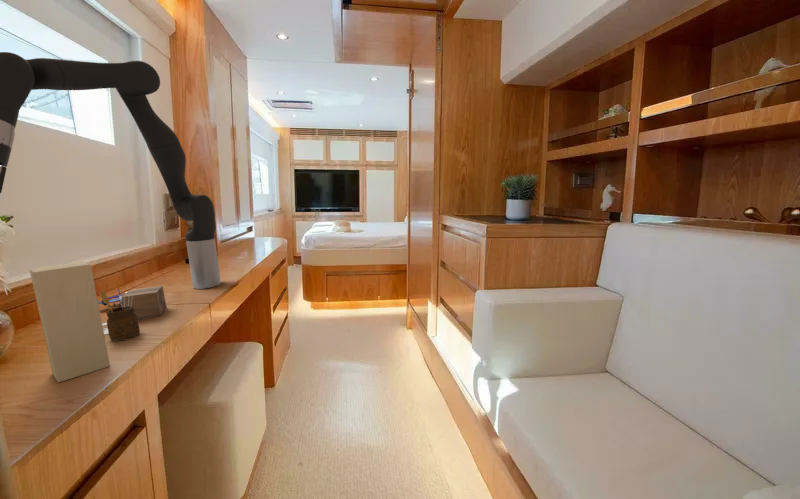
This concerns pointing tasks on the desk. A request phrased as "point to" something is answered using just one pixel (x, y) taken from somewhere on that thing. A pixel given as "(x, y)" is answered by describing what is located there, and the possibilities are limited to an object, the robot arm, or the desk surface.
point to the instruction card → (105, 328)
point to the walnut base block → (146, 301)
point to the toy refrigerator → (70, 319)
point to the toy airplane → (119, 298)
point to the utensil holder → (121, 321)
